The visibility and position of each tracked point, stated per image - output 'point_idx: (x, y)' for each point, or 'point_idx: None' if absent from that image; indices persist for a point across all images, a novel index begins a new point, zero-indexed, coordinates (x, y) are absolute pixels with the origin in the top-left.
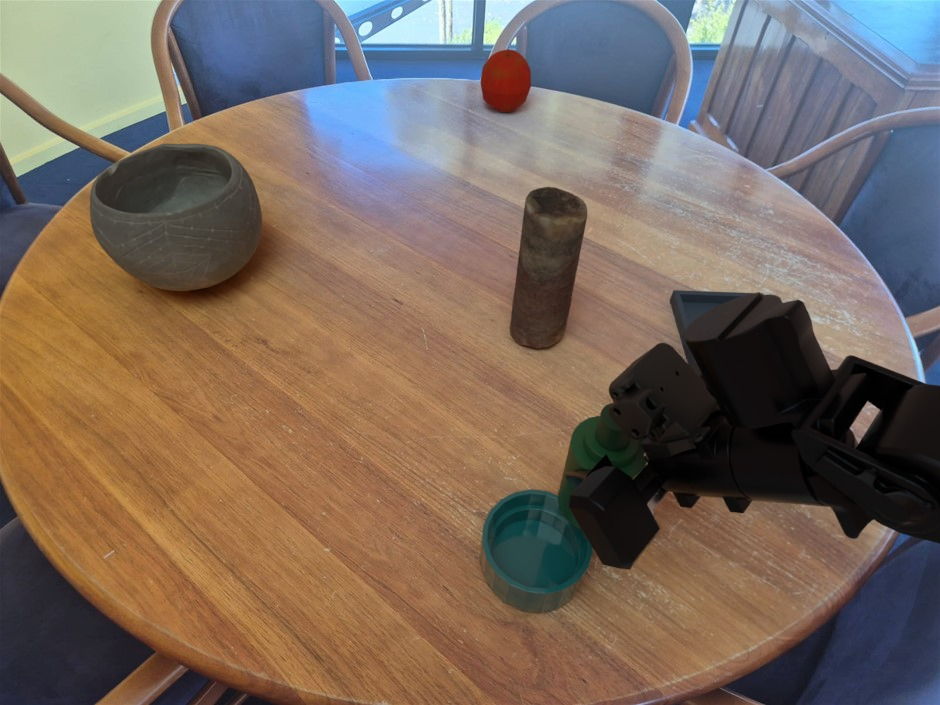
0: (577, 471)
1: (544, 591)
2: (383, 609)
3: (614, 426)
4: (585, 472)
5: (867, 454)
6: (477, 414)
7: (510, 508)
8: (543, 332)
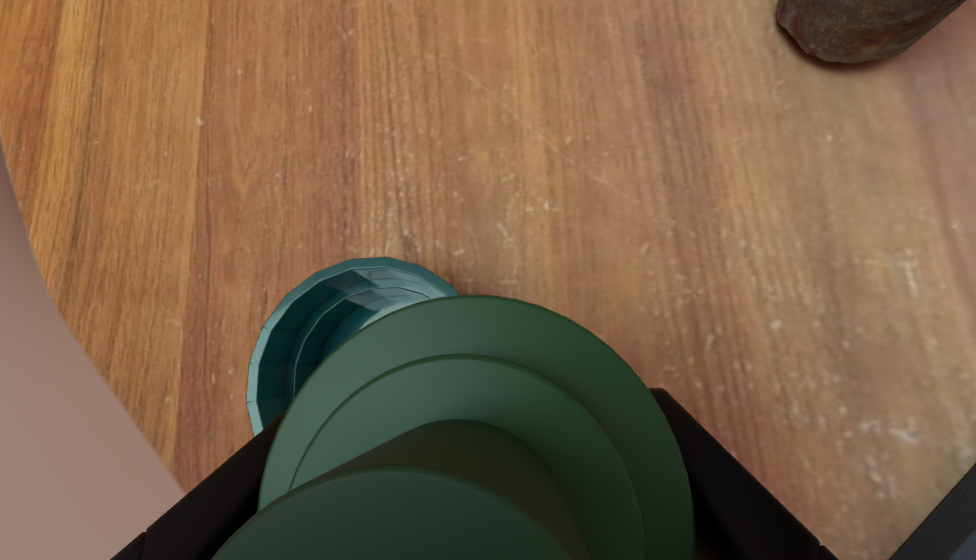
0: (264, 457)
1: None
2: (179, 253)
3: None
4: (175, 542)
5: None
6: (568, 92)
7: (415, 281)
8: (847, 12)
